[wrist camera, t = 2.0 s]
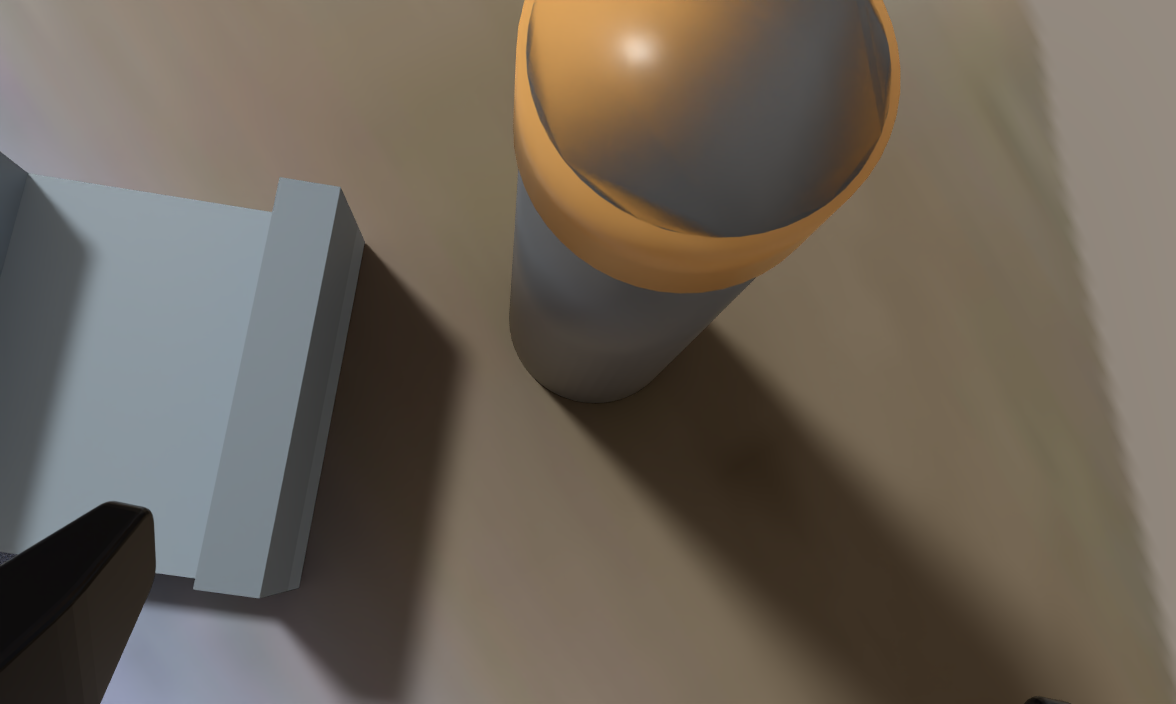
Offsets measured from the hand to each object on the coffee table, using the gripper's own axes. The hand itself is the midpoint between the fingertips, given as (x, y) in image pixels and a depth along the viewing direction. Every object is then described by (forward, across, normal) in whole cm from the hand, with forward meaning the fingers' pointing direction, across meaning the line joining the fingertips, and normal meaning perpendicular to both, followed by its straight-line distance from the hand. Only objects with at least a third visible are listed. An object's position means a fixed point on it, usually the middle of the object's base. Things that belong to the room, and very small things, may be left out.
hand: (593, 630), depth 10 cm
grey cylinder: (+13, 0, +4) cm, 14 cm away
